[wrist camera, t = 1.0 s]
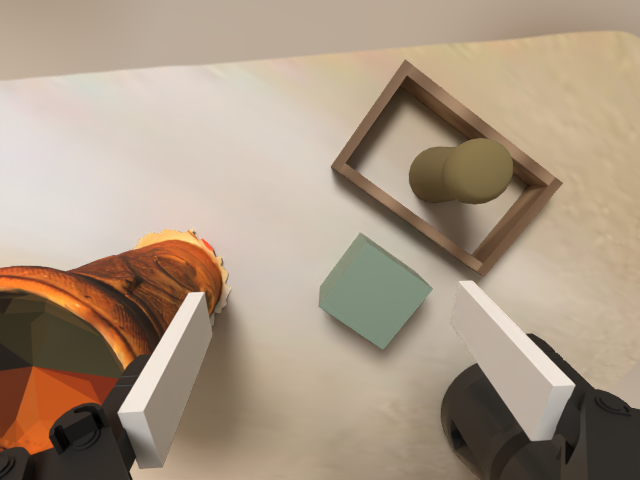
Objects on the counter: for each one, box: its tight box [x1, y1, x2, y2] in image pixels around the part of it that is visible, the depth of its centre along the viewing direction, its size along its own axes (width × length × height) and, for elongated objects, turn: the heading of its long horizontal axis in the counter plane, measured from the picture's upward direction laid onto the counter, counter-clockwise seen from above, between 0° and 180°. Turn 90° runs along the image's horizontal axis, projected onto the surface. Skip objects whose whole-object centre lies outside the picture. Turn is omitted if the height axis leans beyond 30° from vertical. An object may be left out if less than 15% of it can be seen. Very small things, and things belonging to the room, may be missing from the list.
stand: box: [319, 233, 433, 350], centre depth 33 cm, size 8×8×6 cm
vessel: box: [0, 229, 232, 455], centre depth 27 cm, size 14×14×20 cm
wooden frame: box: [331, 60, 563, 276], centre depth 32 cm, size 20×12×3 cm, turn 55°
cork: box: [409, 138, 513, 204], centre depth 29 cm, size 6×6×11 cm
